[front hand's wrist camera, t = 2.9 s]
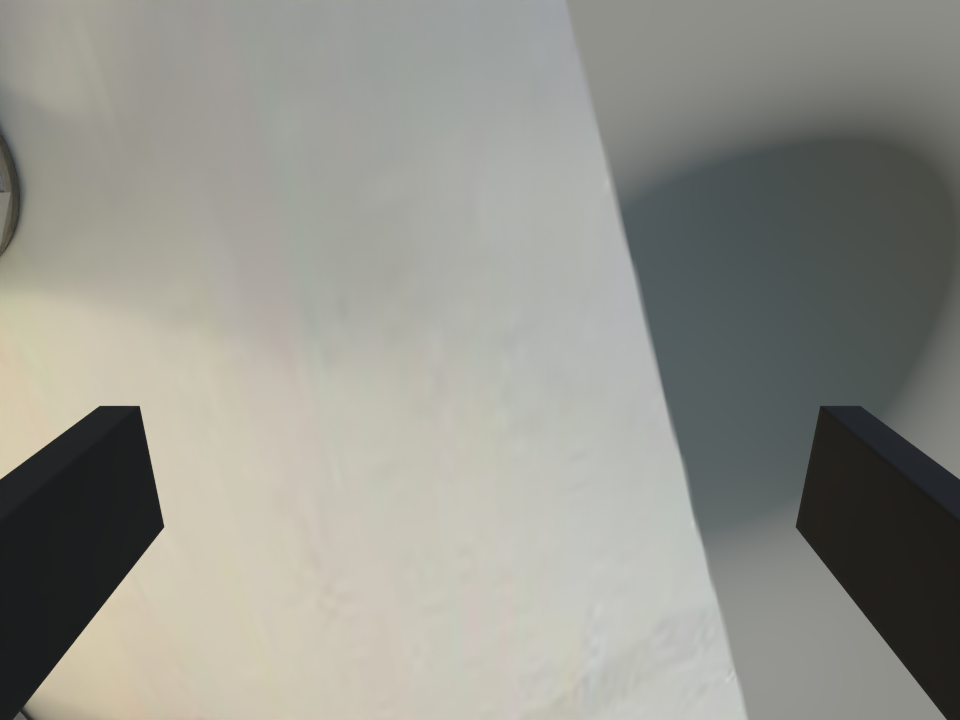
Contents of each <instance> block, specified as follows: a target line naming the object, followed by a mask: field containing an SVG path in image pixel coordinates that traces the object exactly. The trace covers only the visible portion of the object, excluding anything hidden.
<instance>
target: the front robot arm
mask: <svg viewBox="0 0 960 720" xmlns="http://www.w3.org/2000/svg"><path fill="white" fill-rule="evenodd" d="M18 211H19V187H18V180H17V175H16V171H15V167H14V163H13V160H12V157H11V154H10V152H9V149H8V147H7V145H6V143H5V140H4V138H3V136H2V135H1V133H0V255H1V254H2V252H3V251H4V249H5V248H6V247H7V245H8V243H9V241H10V239H11V237H12V235H13V232H14V229H15V226H16V222H17V218H18ZM163 528H164V523H163V518H162V514H161V509H160V504H159V499H158V494H157V489H156V484H155V479H154V474H153V469H152V464H151V460H150V455H149V450H148V445H147V440H146V435H145V430H144V425H143V420H142V415H141V411H140V406H99V407H98V408H96V409H95V410H94V411H92V412H91V413H90V414H88V415H87V416H86V417H84V418H83V419H82V420H80V421H79V422H78V423H76V424H75V425H73V426H72V427H71V428H69V429H68V430H67V431H65V432H64V433H63V434H61V435H60V436H59V437H57V438H56V439H55V440H53V441H52V442H50V443H49V444H48V445H46V446H45V447H44V448H42V449H41V450H40V451H38V452H37V453H36V454H34V455H33V456H32V457H30V458H29V459H28V460H26V461H25V462H23V463H22V464H21V465H19V466H18V467H17V468H15V469H14V470H13V471H11V472H10V473H9V474H7V475H6V476H5V477H3V478H2V479H0V720H13V719H14V718H15V717H16V715H17V714H18V713H19V712H20V710H21V709H22V708H23V706H24V705H25V704H26V703H27V701H28V700H29V699H30V697H31V696H32V695H33V694H34V692H35V691H36V690H37V689H38V687H39V686H40V685H41V683H42V682H43V681H44V680H45V678H46V677H47V676H48V675H49V673H50V672H51V671H52V669H53V668H54V667H55V666H56V664H57V663H58V662H59V661H60V659H61V658H62V657H63V655H64V654H65V653H66V652H67V650H68V649H69V648H70V647H71V645H72V644H73V643H74V641H75V640H76V639H77V638H78V636H79V635H80V634H81V632H82V631H83V630H84V629H85V627H86V626H87V625H88V624H89V622H90V621H91V620H92V618H93V617H94V616H95V615H96V613H97V612H98V611H99V610H100V608H101V607H102V606H103V604H104V603H105V602H106V601H107V599H108V598H109V597H110V596H111V594H112V593H113V592H114V590H115V589H116V588H117V587H118V585H119V584H120V583H121V582H122V580H123V579H124V578H125V576H126V575H127V574H128V573H129V571H130V570H131V569H132V568H133V566H134V565H135V564H136V562H137V561H138V560H139V559H140V557H141V556H142V555H143V553H144V552H145V551H146V550H147V548H148V547H149V546H150V545H151V543H152V542H153V541H154V539H155V538H156V537H157V536H158V534H159V533H160V532H161V531H162V529H163ZM796 528H797V529H798V531H799V532H800V533H801V534H802V536H803V537H804V538H805V539H806V541H807V542H808V543H809V544H810V546H811V547H812V548H813V550H814V551H815V552H816V553H817V555H818V556H819V557H820V559H821V560H822V561H823V562H824V564H825V565H826V566H827V568H828V569H829V570H830V571H831V573H832V574H833V575H834V576H835V578H836V579H837V580H838V582H839V583H840V584H841V585H842V587H843V588H844V589H845V590H846V592H847V593H848V594H849V596H850V597H851V598H852V599H853V601H854V602H855V603H856V604H857V606H858V607H859V608H860V610H861V611H862V612H863V613H864V615H865V616H866V617H867V618H868V620H869V621H870V622H871V623H872V625H873V626H874V627H875V629H876V630H877V631H878V632H879V634H880V635H881V636H882V638H883V639H884V640H885V641H886V643H887V644H888V645H889V647H890V648H891V649H892V650H893V652H894V653H895V654H896V655H897V657H898V658H899V659H900V661H901V662H902V663H903V664H904V666H905V667H906V668H907V669H908V671H909V672H910V673H911V674H912V676H913V677H914V678H915V680H916V681H917V682H918V683H919V685H920V686H921V687H922V689H923V690H924V691H925V692H926V694H927V695H928V696H929V697H930V699H931V700H932V701H933V703H934V704H935V705H936V706H937V708H938V709H939V710H940V712H941V713H942V714H943V715H944V717H945V718H946V719H947V720H960V479H958V478H957V477H955V476H954V475H953V474H951V473H950V472H949V471H947V470H946V469H945V468H943V467H942V466H941V465H939V464H938V463H937V462H935V461H934V460H932V459H931V458H930V457H928V456H927V455H926V454H924V453H923V452H922V451H920V450H919V449H918V448H916V447H915V446H913V445H912V444H911V443H910V442H908V441H907V440H905V439H904V438H903V437H901V436H900V435H899V434H897V433H896V432H895V431H893V430H892V429H891V428H889V427H888V426H887V425H885V424H884V423H882V422H881V421H880V420H878V419H877V418H876V417H874V416H873V415H872V414H870V413H869V412H868V411H866V410H865V409H864V408H862V407H861V406H820V411H819V415H818V420H817V425H816V430H815V435H814V440H813V445H812V450H811V455H810V460H809V464H808V469H807V474H806V479H805V484H804V489H803V494H802V499H801V504H800V509H799V514H798V518H797V523H796Z"/></svg>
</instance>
